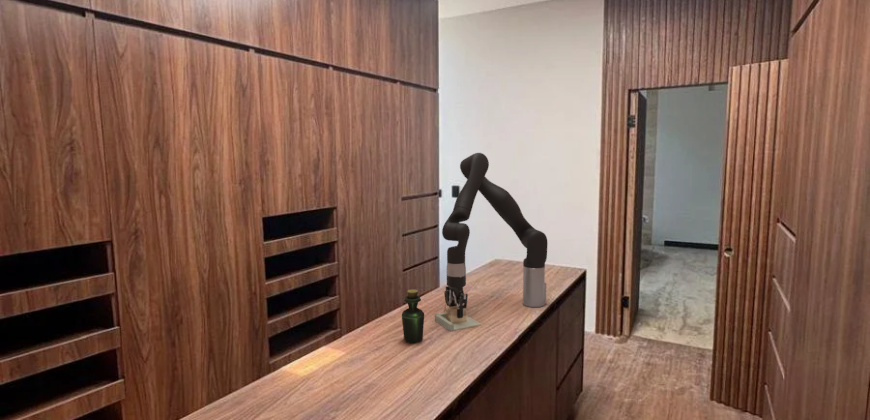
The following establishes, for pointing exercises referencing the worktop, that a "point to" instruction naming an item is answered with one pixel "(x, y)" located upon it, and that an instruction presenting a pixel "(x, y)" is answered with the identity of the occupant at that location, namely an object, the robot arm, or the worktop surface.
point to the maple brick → (455, 315)
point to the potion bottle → (413, 318)
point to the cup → (448, 301)
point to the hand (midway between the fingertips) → (456, 315)
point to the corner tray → (457, 326)
